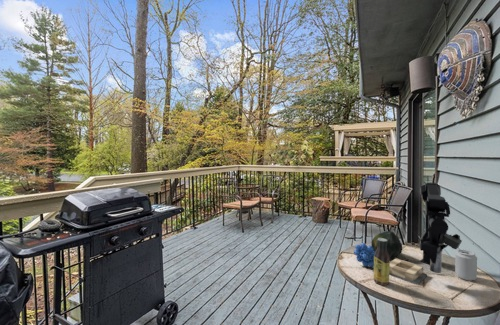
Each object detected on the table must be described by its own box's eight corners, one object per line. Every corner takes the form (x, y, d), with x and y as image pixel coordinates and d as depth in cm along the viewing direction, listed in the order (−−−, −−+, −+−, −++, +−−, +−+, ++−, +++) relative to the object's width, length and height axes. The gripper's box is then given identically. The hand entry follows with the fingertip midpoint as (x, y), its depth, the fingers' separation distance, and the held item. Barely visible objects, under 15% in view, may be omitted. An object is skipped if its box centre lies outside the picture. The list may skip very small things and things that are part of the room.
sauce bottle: (370, 279, 114) (370, 236, 114) (383, 278, 115) (383, 236, 114) (379, 287, 108) (379, 242, 107) (392, 286, 108) (393, 241, 108)
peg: (431, 267, 113) (432, 246, 112) (442, 271, 110) (442, 248, 109) (428, 270, 110) (428, 248, 110) (439, 273, 107) (439, 251, 107)
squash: (365, 239, 150) (374, 226, 140) (391, 240, 150) (401, 227, 139) (373, 262, 140) (382, 250, 130) (400, 263, 139) (412, 251, 129)
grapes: (352, 267, 127) (352, 244, 126) (354, 262, 132) (354, 239, 132) (378, 272, 120) (378, 248, 120) (379, 267, 126) (379, 243, 126)
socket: (392, 264, 128) (392, 257, 128) (426, 276, 116) (426, 267, 116) (381, 272, 121) (381, 264, 121) (416, 284, 109) (416, 275, 109)
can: (471, 274, 117) (472, 249, 116) (480, 282, 110) (480, 256, 109) (452, 272, 119) (452, 248, 119) (459, 280, 112) (460, 254, 111)
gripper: (452, 236, 97) (451, 275, 98) (465, 226, 108) (465, 262, 109) (419, 229, 106) (419, 265, 107) (435, 221, 117) (434, 254, 118)
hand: (435, 261), depth 110 cm, fingers closed on peg, 4 cm apart
